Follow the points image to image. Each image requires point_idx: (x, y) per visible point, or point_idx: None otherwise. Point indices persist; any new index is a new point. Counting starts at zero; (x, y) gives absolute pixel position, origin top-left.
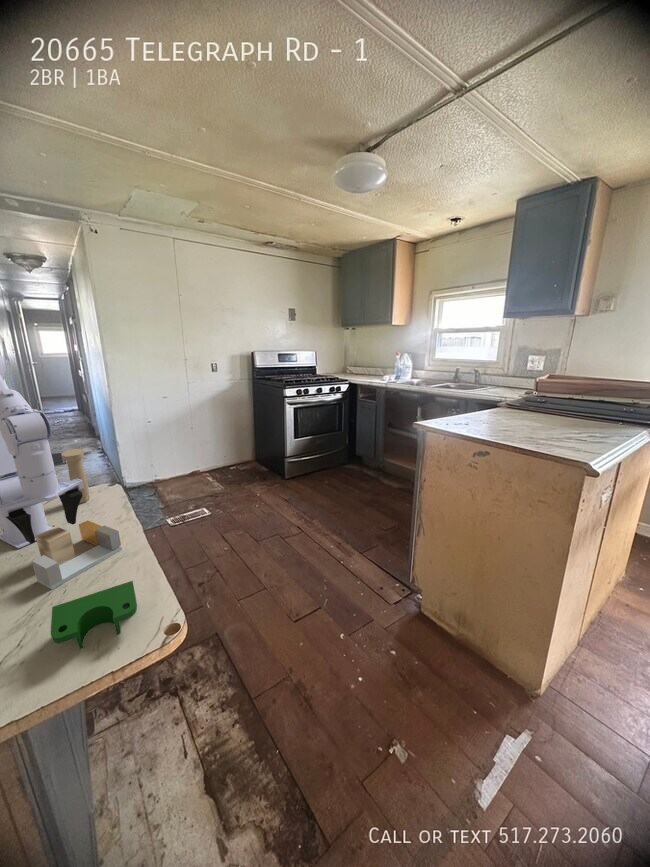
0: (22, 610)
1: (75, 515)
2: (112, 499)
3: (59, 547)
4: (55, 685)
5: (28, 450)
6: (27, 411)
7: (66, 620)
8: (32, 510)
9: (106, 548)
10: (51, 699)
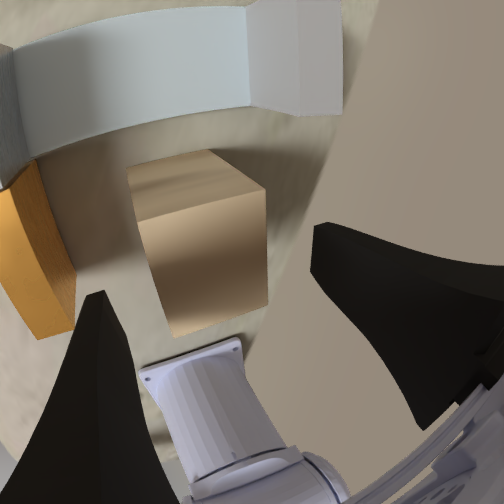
0: (349, 10)
1: (76, 337)
2: (6, 428)
3: (195, 178)
4: None
5: None
6: None
7: None
8: (222, 446)
9: (19, 97)
10: None
